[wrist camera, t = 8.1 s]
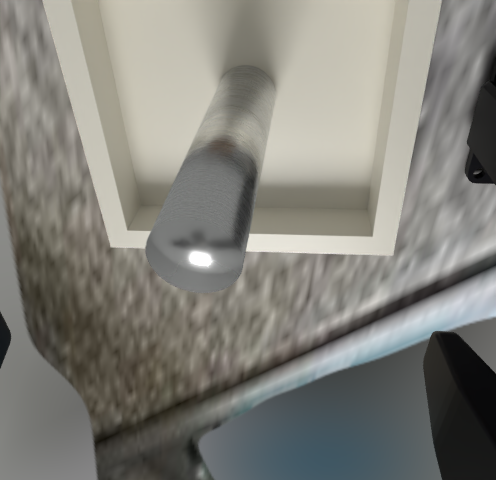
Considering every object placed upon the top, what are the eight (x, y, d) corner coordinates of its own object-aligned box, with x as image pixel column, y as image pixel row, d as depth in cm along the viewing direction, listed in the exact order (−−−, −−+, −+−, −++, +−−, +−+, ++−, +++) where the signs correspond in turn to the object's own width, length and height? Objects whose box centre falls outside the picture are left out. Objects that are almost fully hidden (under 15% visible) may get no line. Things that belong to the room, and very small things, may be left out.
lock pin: (275, 64, 18) (239, 221, 10) (276, 122, 19) (245, 295, 12) (215, 65, 18) (135, 217, 10) (220, 122, 19) (155, 290, 12)
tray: (438, -115, 15) (464, -119, 12) (383, 218, 22) (392, 255, 20) (59, -95, 16) (15, -95, 14) (130, 212, 24) (111, 247, 21)
